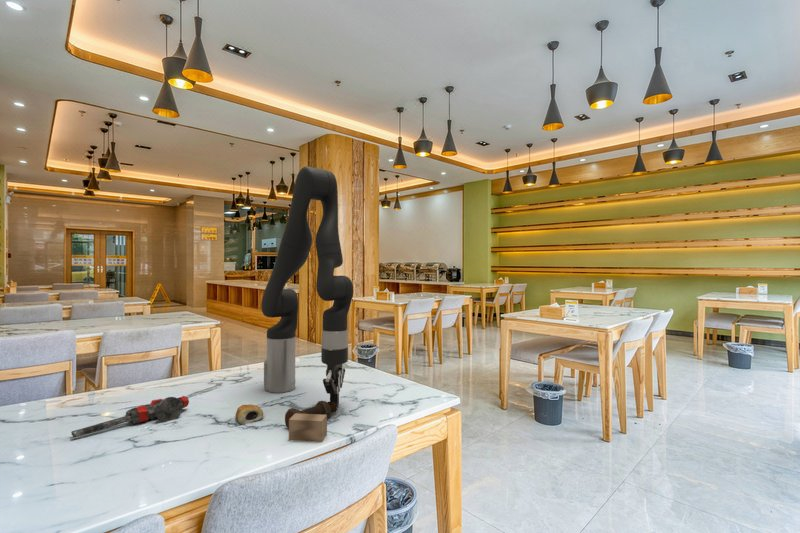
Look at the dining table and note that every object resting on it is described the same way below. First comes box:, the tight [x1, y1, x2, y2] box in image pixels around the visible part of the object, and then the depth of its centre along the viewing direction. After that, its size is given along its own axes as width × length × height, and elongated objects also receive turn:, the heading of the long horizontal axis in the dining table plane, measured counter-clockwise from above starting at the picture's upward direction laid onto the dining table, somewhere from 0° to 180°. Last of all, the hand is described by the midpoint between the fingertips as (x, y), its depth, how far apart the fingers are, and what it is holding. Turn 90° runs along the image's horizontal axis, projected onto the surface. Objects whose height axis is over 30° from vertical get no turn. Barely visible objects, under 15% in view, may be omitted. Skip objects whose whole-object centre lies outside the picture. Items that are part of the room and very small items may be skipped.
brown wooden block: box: [288, 413, 328, 443], centre depth 95 cm, size 8×4×5 cm, turn 84°
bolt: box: [284, 400, 339, 430], centre depth 104 cm, size 6×5×15 cm
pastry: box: [235, 403, 265, 425], centre depth 107 cm, size 9×7×4 cm
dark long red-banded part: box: [70, 395, 190, 439], centre depth 104 cm, size 6×26×15 cm
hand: (334, 406), depth 113 cm, fingers closed
